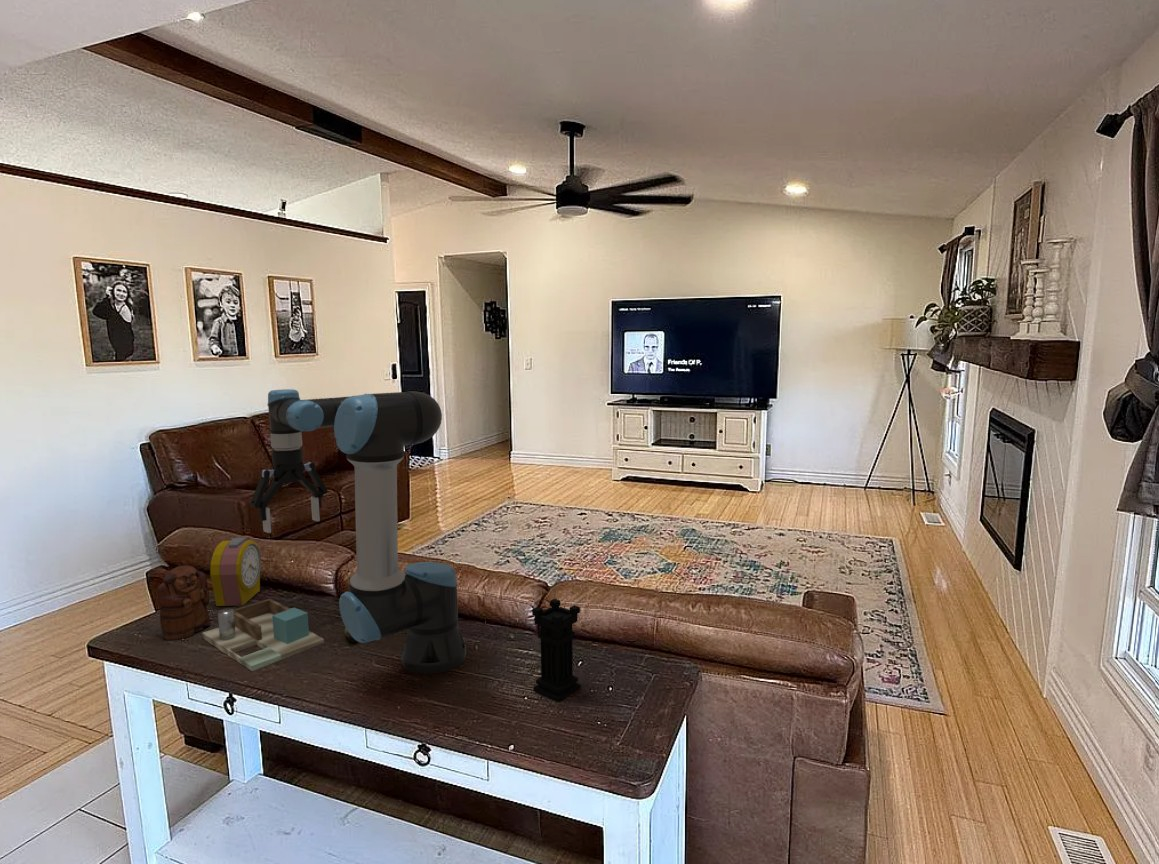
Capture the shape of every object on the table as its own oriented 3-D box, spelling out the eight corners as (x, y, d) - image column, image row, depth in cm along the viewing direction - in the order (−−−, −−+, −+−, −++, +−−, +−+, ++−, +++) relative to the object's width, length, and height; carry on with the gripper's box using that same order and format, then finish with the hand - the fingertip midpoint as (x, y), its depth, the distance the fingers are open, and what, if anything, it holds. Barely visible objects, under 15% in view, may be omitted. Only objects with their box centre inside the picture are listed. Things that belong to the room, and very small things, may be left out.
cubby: (299, 625, 174) (299, 613, 174) (258, 640, 166) (257, 627, 165) (271, 610, 184) (270, 598, 184) (230, 623, 176) (229, 611, 175)
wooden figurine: (177, 643, 168) (170, 575, 166) (159, 639, 170) (152, 572, 168) (216, 624, 179) (211, 560, 176) (199, 621, 181) (193, 558, 179)
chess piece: (555, 682, 148) (554, 597, 145) (583, 694, 143) (582, 606, 140) (530, 697, 142) (529, 609, 139) (558, 710, 137) (557, 619, 134)
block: (309, 635, 169) (307, 612, 168) (287, 644, 164) (285, 621, 163) (295, 629, 172) (294, 607, 171) (273, 637, 167) (272, 615, 167)
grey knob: (238, 636, 168) (235, 610, 167) (223, 641, 165) (221, 615, 164) (231, 632, 170) (229, 607, 169) (217, 637, 168) (214, 611, 167)
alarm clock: (242, 607, 190) (237, 546, 187) (213, 608, 190) (207, 547, 187) (264, 588, 205) (260, 531, 202) (237, 588, 204) (232, 531, 202)
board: (324, 644, 167) (323, 638, 167) (252, 672, 153) (251, 666, 153) (271, 615, 185) (271, 610, 184) (202, 638, 171) (202, 632, 171)
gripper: (323, 440, 186) (327, 513, 189) (231, 453, 166) (238, 534, 170) (337, 443, 181) (342, 518, 184) (245, 456, 162) (252, 539, 165)
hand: (292, 526), depth 177 cm, fingers open, 13 cm apart
